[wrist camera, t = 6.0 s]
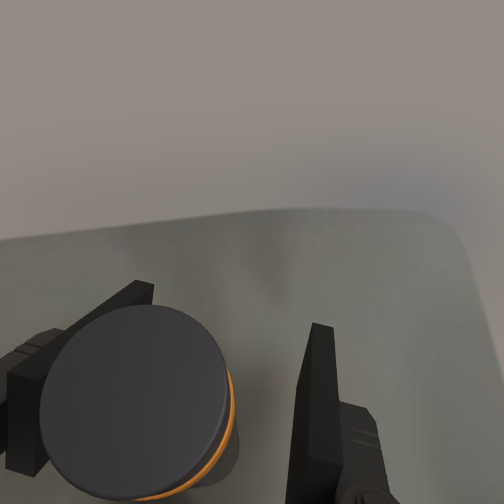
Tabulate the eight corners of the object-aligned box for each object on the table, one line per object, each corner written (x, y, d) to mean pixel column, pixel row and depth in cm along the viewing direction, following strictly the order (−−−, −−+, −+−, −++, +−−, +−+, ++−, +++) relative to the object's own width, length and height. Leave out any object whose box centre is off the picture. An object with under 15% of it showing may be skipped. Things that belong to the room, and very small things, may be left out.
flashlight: (154, 458, 16) (-10, 423, 6) (196, 395, 17) (124, 270, 7) (213, 503, 15) (148, 557, 5) (253, 433, 17) (268, 360, 6)
